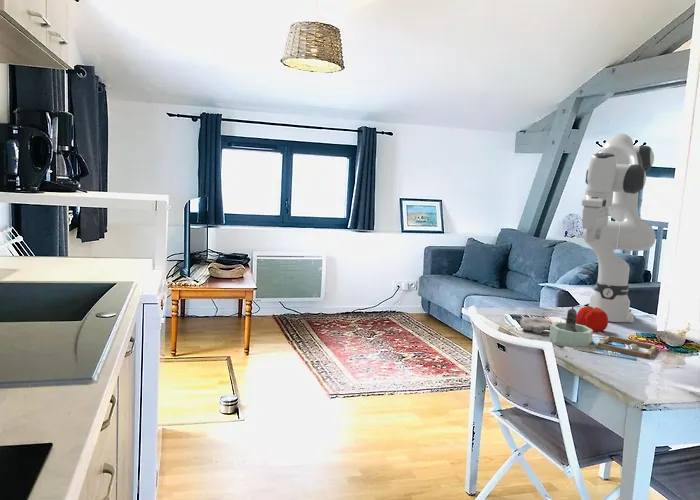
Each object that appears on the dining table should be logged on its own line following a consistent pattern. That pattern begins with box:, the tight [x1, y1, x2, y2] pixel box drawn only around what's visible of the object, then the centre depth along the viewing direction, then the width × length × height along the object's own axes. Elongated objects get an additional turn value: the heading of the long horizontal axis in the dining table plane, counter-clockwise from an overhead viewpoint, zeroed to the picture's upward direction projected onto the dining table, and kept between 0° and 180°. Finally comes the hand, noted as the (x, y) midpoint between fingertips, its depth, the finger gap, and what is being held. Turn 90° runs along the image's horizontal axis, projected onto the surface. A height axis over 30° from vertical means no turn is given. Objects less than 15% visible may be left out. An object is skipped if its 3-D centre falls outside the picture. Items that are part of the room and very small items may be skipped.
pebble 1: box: [627, 344, 640, 351], centre depth 181 cm, size 3×3×3 cm
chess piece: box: [563, 306, 578, 332], centre depth 185 cm, size 6×6×12 cm
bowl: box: [548, 321, 594, 348], centre depth 188 cm, size 12×12×6 cm
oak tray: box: [597, 334, 657, 360], centre depth 182 cm, size 13×15×2 cm
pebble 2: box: [629, 347, 640, 352], centre depth 177 cm, size 3×3×3 cm
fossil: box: [519, 316, 552, 334], centre depth 201 cm, size 9×6×10 cm
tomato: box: [576, 305, 609, 332], centre depth 204 cm, size 11×11×9 cm
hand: (593, 240), depth 195 cm, fingers open, 8 cm apart
